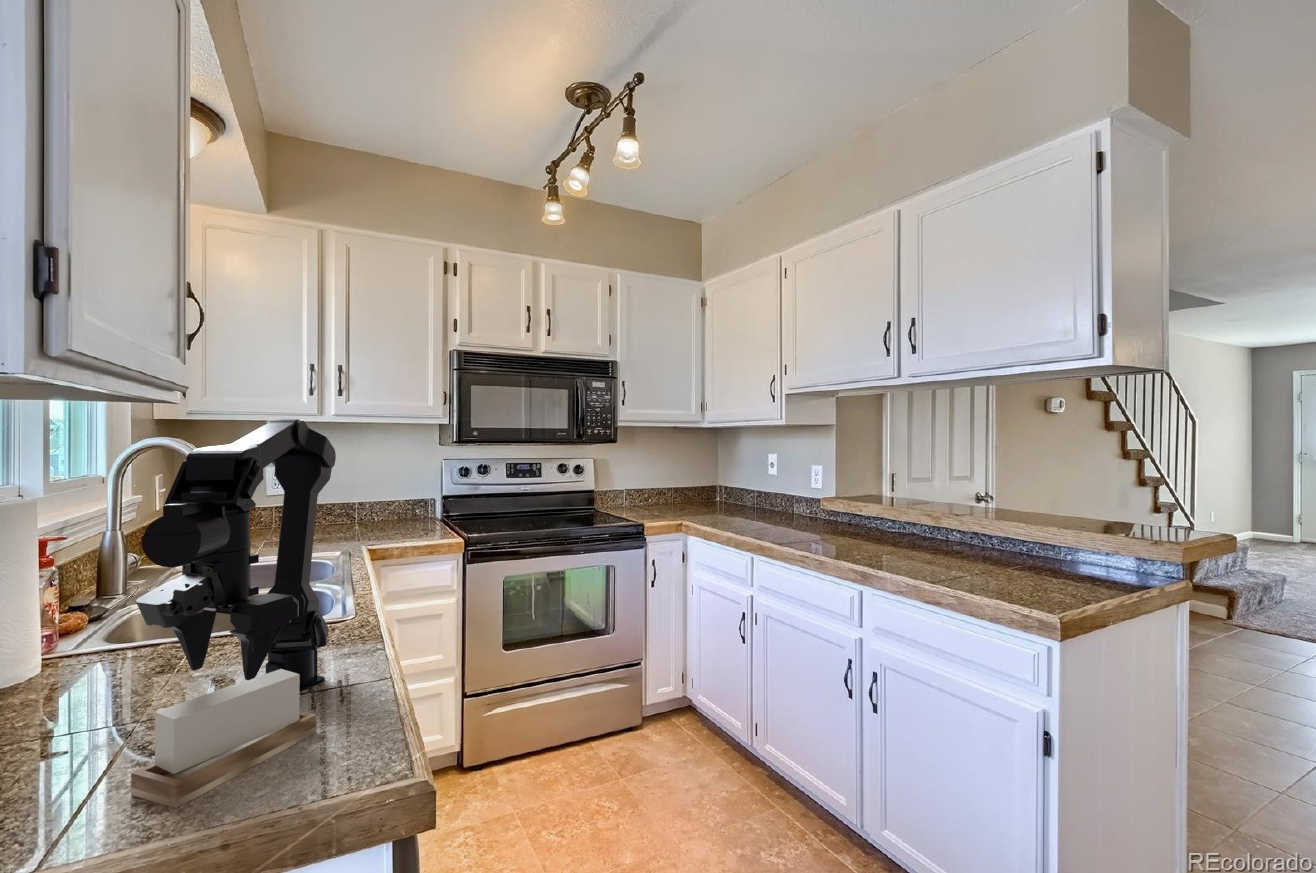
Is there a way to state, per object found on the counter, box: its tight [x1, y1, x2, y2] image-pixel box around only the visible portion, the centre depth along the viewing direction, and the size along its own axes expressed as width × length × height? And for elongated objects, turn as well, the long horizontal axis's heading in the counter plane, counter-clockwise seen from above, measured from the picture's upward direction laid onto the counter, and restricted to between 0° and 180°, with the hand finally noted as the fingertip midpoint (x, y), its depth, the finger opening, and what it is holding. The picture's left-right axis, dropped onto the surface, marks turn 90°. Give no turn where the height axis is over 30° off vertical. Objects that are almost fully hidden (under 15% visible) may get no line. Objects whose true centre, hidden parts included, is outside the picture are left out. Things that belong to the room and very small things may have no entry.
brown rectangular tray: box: [130, 710, 317, 809], centre depth 73 cm, size 17×7×2 cm, turn 161°
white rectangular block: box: [154, 669, 300, 774], centre depth 73 cm, size 14×4×6 cm, turn 153°
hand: (223, 674), depth 75 cm, fingers open, 9 cm apart
